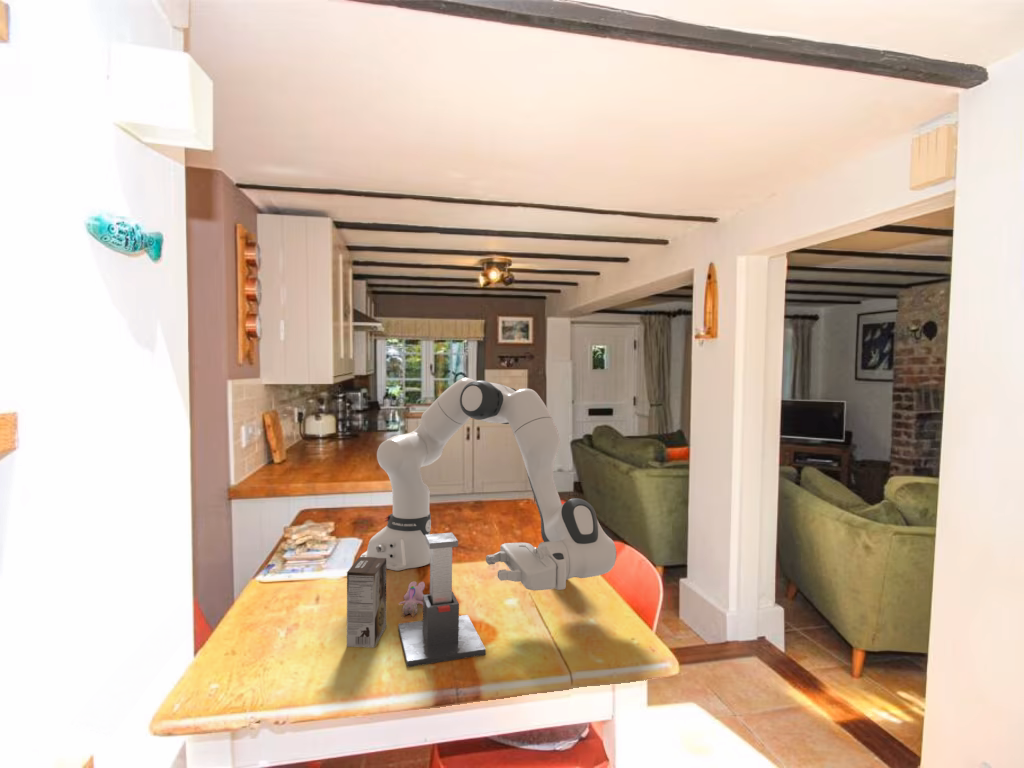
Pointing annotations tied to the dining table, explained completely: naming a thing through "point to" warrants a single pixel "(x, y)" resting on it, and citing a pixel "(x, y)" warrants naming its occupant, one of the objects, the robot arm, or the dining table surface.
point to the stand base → (439, 635)
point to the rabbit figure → (412, 598)
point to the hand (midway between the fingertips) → (492, 567)
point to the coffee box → (366, 602)
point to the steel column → (441, 567)
